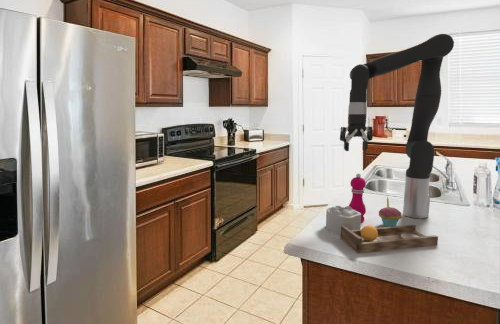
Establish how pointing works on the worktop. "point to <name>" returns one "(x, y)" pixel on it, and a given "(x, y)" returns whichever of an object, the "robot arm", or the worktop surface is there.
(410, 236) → the wooden tray
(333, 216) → the lumpy-topped squat cylinder
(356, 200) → the pepper mill
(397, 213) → the cupcake
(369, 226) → the ball
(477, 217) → the worktop surface
